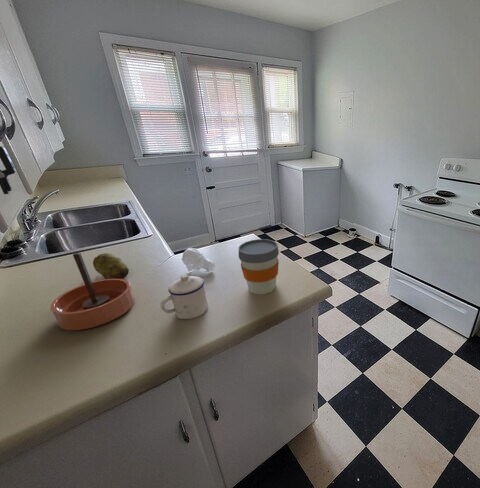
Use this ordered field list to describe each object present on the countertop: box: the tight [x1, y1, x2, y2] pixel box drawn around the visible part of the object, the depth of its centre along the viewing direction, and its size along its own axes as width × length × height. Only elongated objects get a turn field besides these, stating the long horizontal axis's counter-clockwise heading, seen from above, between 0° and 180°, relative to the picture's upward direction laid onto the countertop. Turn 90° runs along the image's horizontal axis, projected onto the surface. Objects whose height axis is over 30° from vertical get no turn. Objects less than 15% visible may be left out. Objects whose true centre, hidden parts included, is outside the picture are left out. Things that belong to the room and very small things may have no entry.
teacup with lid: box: [160, 274, 209, 320], centre depth 76 cm, size 12×9×12 cm
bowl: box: [49, 278, 136, 331], centre depth 78 cm, size 18×18×6 cm
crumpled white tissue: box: [181, 247, 216, 273], centre depth 100 cm, size 6×8×12 cm
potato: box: [92, 252, 130, 279], centre depth 96 cm, size 8×13×8 cm, turn 48°
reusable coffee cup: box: [238, 238, 280, 295], centre depth 88 cm, size 13×12×15 cm
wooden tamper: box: [72, 252, 110, 310], centre depth 75 cm, size 6×6×18 cm
